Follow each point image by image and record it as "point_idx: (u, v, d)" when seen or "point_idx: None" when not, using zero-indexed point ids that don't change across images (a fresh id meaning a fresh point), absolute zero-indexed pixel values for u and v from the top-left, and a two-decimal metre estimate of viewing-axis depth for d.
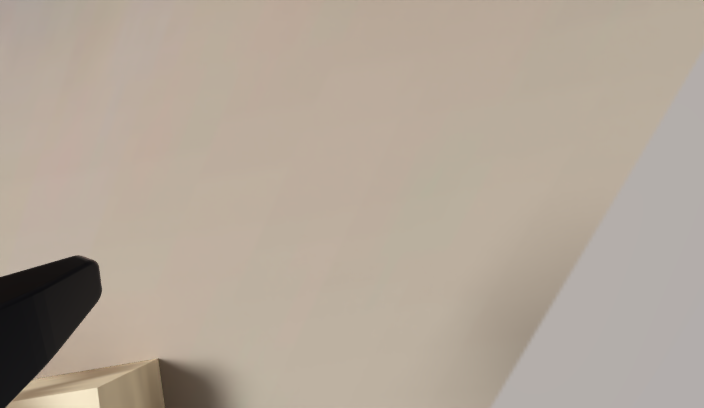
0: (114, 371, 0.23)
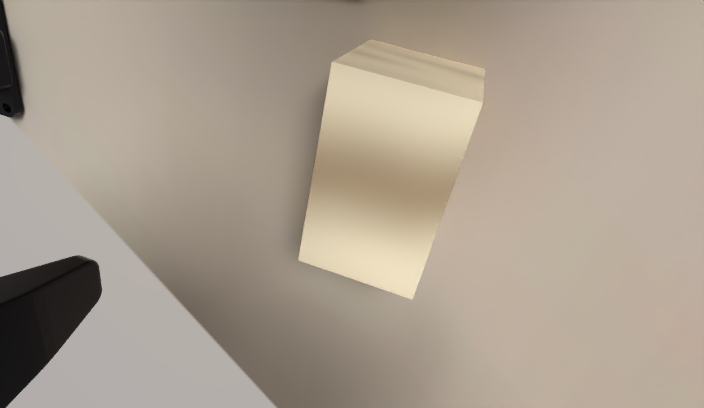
0: None
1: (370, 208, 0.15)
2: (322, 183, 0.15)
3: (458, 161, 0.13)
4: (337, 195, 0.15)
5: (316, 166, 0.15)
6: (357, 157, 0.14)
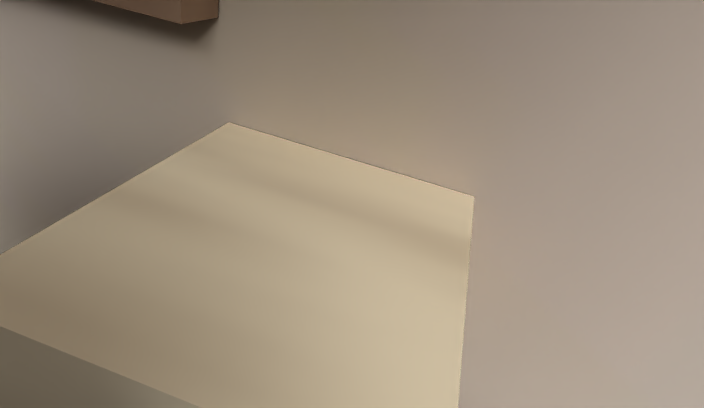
0: None
1: None
2: None
3: None
4: None
5: None
6: None
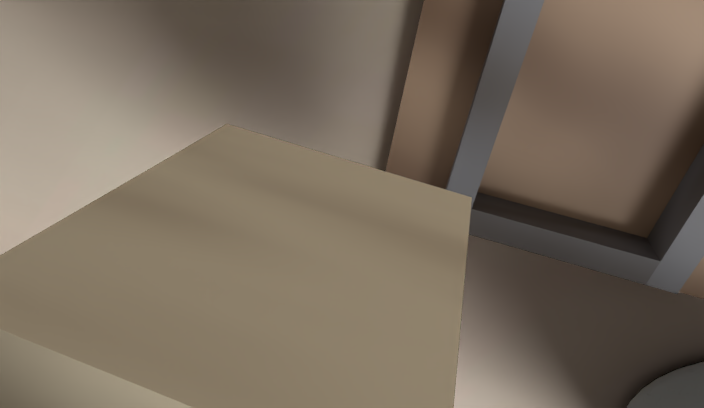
0: None
1: None
2: None
3: None
4: None
5: None
6: None
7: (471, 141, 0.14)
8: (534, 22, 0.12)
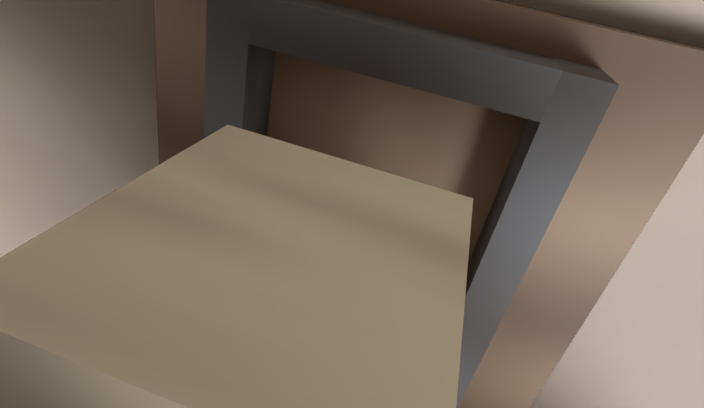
0: None
1: None
2: None
3: None
4: None
5: None
6: None
7: None
8: None
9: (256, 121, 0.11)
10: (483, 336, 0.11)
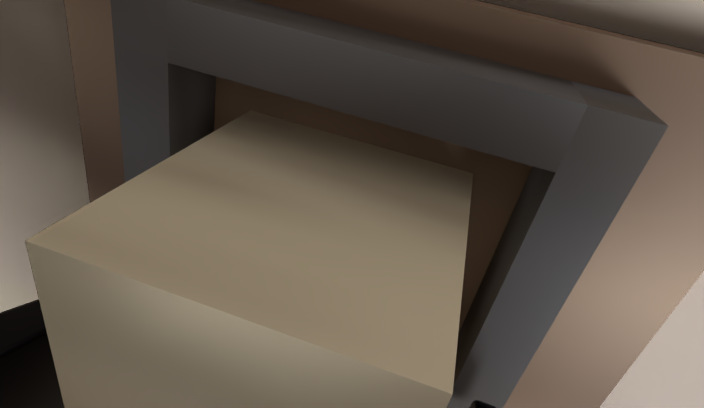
0: None
1: None
2: None
3: None
4: None
5: None
6: None
7: None
8: None
9: None
10: None
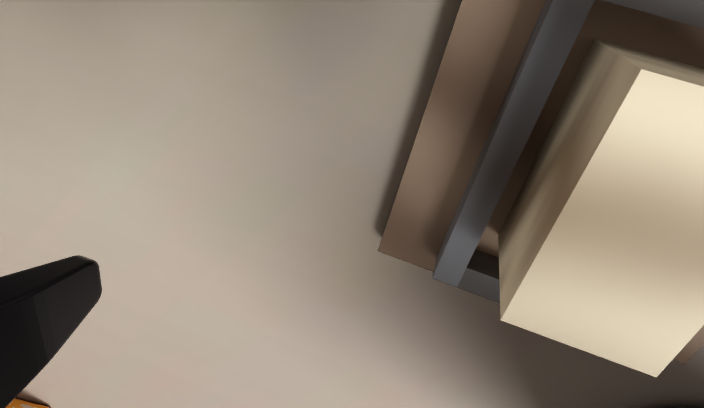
0: None
1: (633, 264, 0.11)
2: (570, 230, 0.11)
3: None
4: (588, 245, 0.11)
5: (568, 207, 0.11)
6: (636, 198, 0.10)
7: (471, 210, 0.16)
8: (537, 115, 0.14)
9: None
10: None
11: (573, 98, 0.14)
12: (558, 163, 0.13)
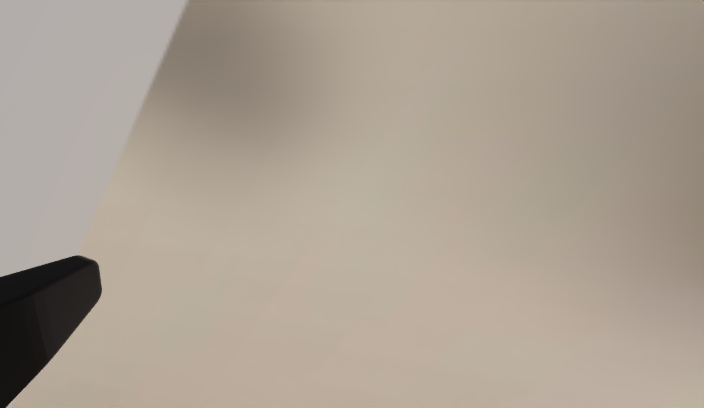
0: None
1: None
2: None
3: None
4: None
5: None
6: None
7: None
8: None
9: None
10: None
11: None
12: None
